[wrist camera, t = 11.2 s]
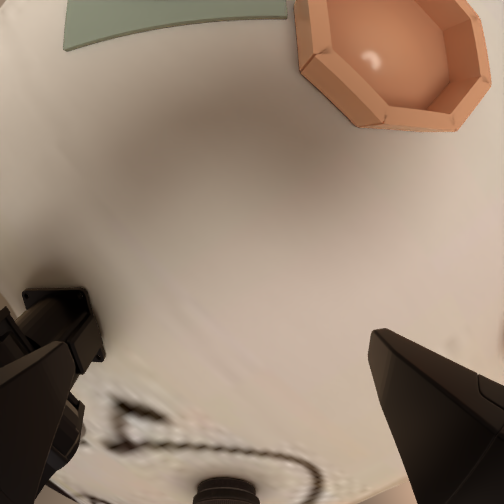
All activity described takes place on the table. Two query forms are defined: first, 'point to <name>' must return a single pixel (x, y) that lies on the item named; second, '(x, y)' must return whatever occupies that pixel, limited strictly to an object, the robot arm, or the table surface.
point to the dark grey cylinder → (225, 492)
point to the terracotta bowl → (395, 60)
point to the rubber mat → (155, 16)
